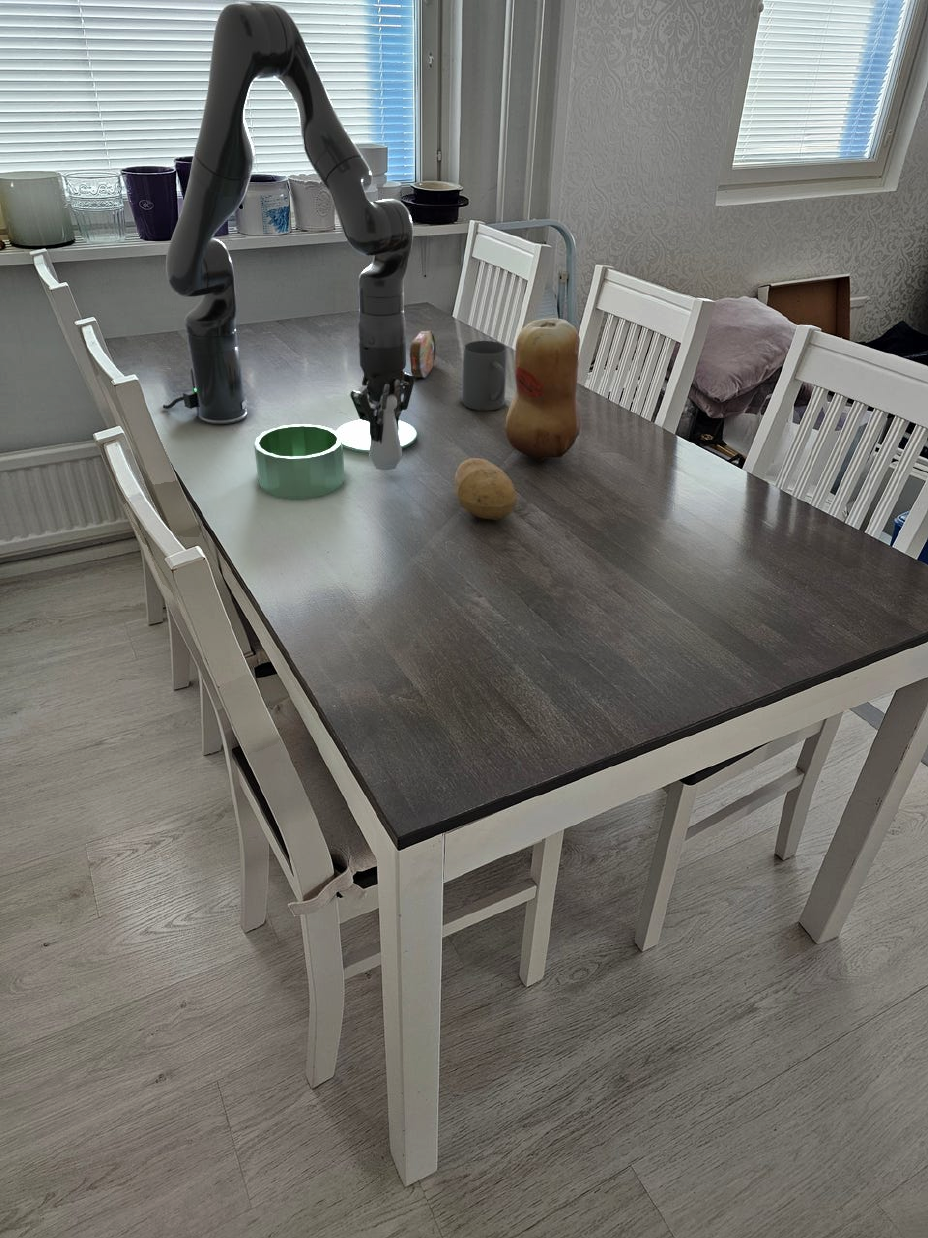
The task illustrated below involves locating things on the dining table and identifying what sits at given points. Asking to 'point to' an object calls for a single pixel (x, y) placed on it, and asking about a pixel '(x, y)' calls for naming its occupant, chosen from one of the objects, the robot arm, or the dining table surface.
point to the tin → (422, 354)
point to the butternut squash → (545, 390)
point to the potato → (484, 489)
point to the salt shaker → (387, 439)
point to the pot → (299, 461)
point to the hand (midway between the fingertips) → (384, 439)
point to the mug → (484, 375)
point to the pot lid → (359, 435)
